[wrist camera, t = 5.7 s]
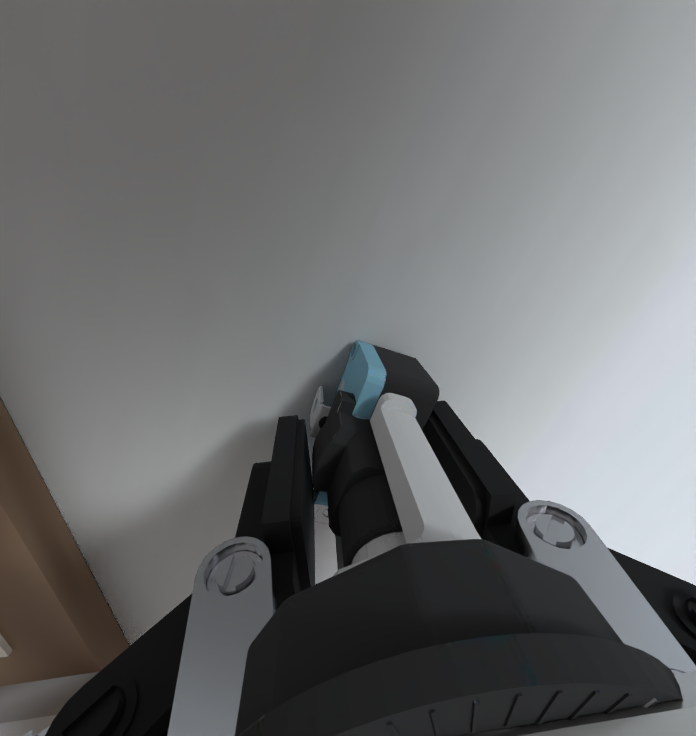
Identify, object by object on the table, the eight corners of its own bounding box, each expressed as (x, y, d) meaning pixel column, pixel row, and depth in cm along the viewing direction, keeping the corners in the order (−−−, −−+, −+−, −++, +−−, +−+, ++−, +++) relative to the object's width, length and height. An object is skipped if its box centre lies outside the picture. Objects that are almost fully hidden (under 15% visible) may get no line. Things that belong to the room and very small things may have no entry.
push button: (383, 504, 14) (532, 1080, 4) (252, 477, 12) (84, 1181, 3) (455, 359, 11) (1062, 907, 2) (305, 310, 10) (242, 1028, 1)
